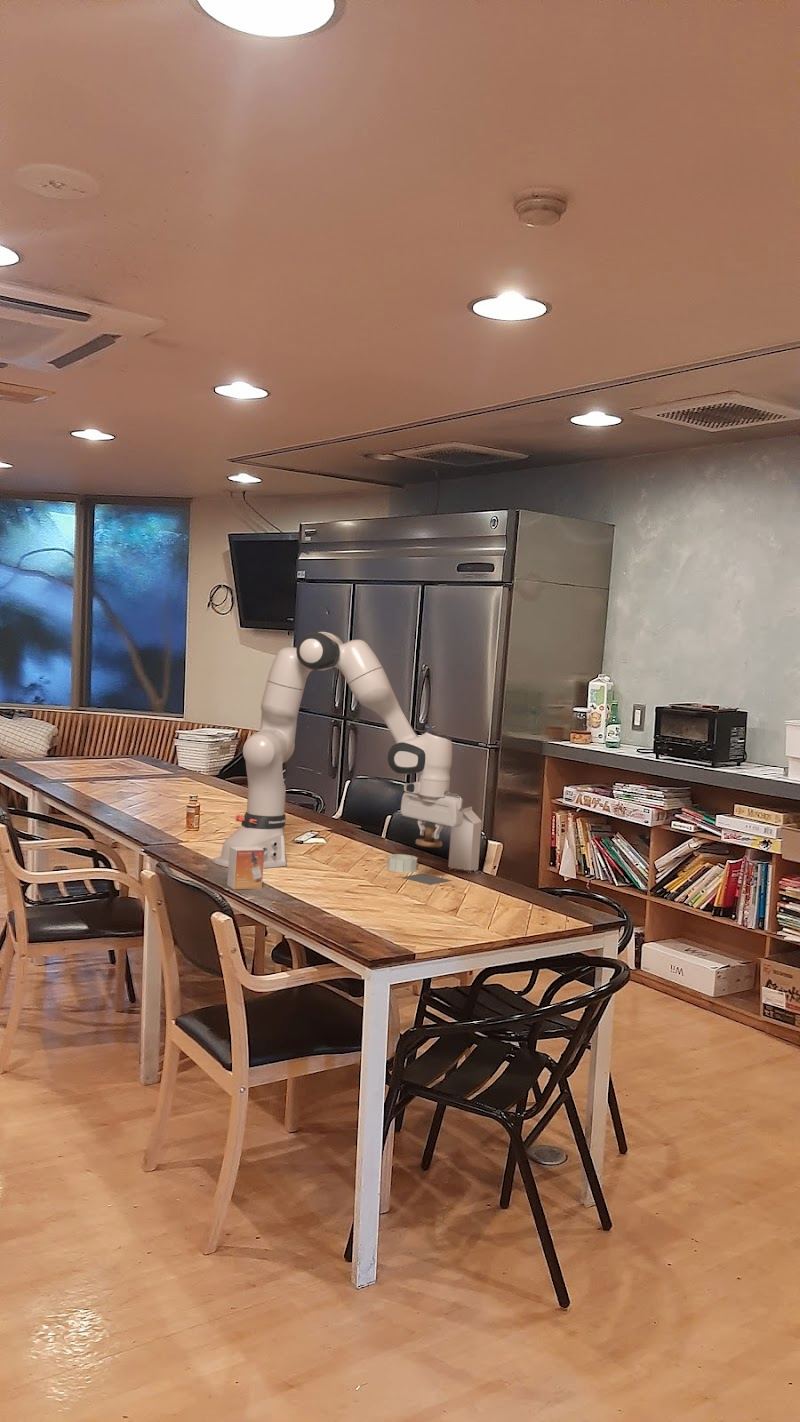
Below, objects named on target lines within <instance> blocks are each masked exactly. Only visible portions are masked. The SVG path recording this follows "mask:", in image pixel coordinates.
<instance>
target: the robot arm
mask: <svg viewBox="0 0 800 1422" xmlns="http://www.w3.org/2000/svg"><path fill="white" fill-rule="evenodd" d="M334 669H338V670H339V671H340V672H341V673H342V675H343V676H344V679H345V681H346V683H347V685H348V687H349V689H350V690H351V692H352V694H353V695H354V697H355V698H356V699H357V701H358V703H359V704H360V705H361V706H364V708H367V709H369V710H371V711H373V712H374V713H375V714H377V715H379V716H380V717H381V719H382V721H384V724H385V725H386V726H387V729H388V731H389V732H390V734H391V736H392V737H393V740H394V741H395V743H394V744H393V745H392V746H391V747H390V749H389V750H388V753H387V763H388V766H389V767H390V769H392V771H393V772H395V773H396V774H399V775H406V776H407V775H410V774H418V781H413V782H409V783H405V784H404V785H403V791H404V793H403V794H402V797H401V803H400V813H401V815H402V816H403V817H405V818H410V819H416V820H417V825H418V828H419V831H420V832H419V835H420V836H421V837H425V827H426V823H427V822H430V823H433V824H435V825H434V827H435V832H432V836H431V837H432V838H433V839H435V840H439V838H440V834H441V832H442V831H443V829H444V827H445V826H448V827H450V828H451V827H459V826H461V825H462V823H463V809H464V808H463V804H464V799H463V798H462V796H461V795H460V794H459V793H454V792H450V787H451V786H450V785H451V784H450V783H451V776H450V772H451V767H452V764H453V742H452V739H451V738H450V737H449V735H447V734H445V733H442V732H439V731H433V730H429V731H428V730H427V731H425V732H424V733H422V734H420V735H419V734H418V733H417V732H416V731H415V729H414V728H413V725H412V724H411V723H410V721H409V719H408V717H407V715H406V713H405V712H404V710H403V709H402V707H401V704H400V702H399V701H398V699H397V697H396V694H395V692H394V690H393V687H392V685H391V683H390V681H389V678H388V675H387V673H386V672H385V669H384V667H383V666H382V664H381V662H380V660H379V659H378V657H377V655H376V654H375V653H374V651H373V650H372V648H371V647H370V646H369V645H368V643H367V642H366V641H365V640H363V639H352V640H351V639H350V640H349V641H347V642H345V641H344V640H343V639H342V638H341V637H340V636H339V635H337V634H335V633H331V632H326V631H318V632H315V631H314V632H310V633H307V634H305V635H304V636H302V637H301V638H300V639H299V641H298V643H297V645H296V647H294V646H287V647H283V648H281V649H280V650H278V652H277V653H276V655H275V657H274V659H273V662H272V664H271V667H270V670H269V674H268V677H267V680H266V685H265V688H264V691H263V695H262V699H261V703H260V704H261V705H260V710H261V715H260V716H261V717H260V718H261V719H260V729H259V731H256V732H254V733H253V734H251V735H250V736H249V737H248V738H246V741H244V744H243V747H242V755H243V758H244V760H245V769H246V771H245V772H246V777H247V801H246V802H247V803H246V812H244V815H241V814H236V815H235V817H234V819H235V822H240V823H241V825H240V827H238V829H237V830H235V831H234V832H233V833H232V834H231V835H230V836H229V837H227V838H226V839H225V840H224V842H223V843H222V848H221V854H220V856H216V857H213V858H212V863H214V864H215V865H217V866H222V867H224V868H228V865H229V850H230V847H247V846H258V847H260V848H262V849H264V865H263V869H267V868H278V867H286V866H287V863H288V858H287V853H286V845H285V844H286V843H285V831H284V830H285V826H286V813H285V811H286V810H285V809H286V793H287V792H286V791H287V790H286V789H287V786H286V784H285V780H284V772H283V769H284V768H283V764H284V763H287V761H289V759H290V758H291V757H292V756H293V754H294V751H295V748H296V747H295V746H296V743H295V741H296V733H297V723H298V715H299V710H300V707H301V703H302V698H303V695H304V690H305V686H306V682H307V679H308V676H309V674H310V673H311V672H312V671H327V670H329V671H330V670H334Z"/></svg>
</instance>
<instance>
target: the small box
mask: <svg viewBox="0 0 800 1422" xmlns="http://www.w3.org/2000/svg"><path fill="white" fill-rule="evenodd" d="M263 865H264V849H262V848H260V847H258V846H247V847H230V850H229V865H228V867H227V868H228V869H227V881H226V882H227V883H226V884H227V886H228V887H229V888H231V889H232V890H262V889H263V880H264V877H263V876H264V868H263Z"/></svg>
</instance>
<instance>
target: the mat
mask: <svg viewBox="0 0 800 1422" xmlns="http://www.w3.org/2000/svg"><path fill="white" fill-rule="evenodd" d="M400 878H401V879H403V880H408V881H411V882H412V881H413V882H416V883H417V882H418V883H420V884H421V883H422V884H425V885H428V886H429V885H430V886H434V885H437V884H443V883H447V882H452V881H453V880H452V879H448V878H444V877H440V876H435V875H431V874H428V873H422V872H421V873H417V874H412V875H406V876H401V877H400Z"/></svg>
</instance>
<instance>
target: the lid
mask: <svg viewBox="0 0 800 1422" xmlns="http://www.w3.org/2000/svg"><path fill="white" fill-rule="evenodd" d="M435 830H436V827H435V826H426V825H425V836H423V837H424V838H416V839H415V843H414V844H415V845H417V846H419V847H425V848H441V847H443V841H441V840H439V839H433V838H432V837H431V836H432V832H435Z"/></svg>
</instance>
